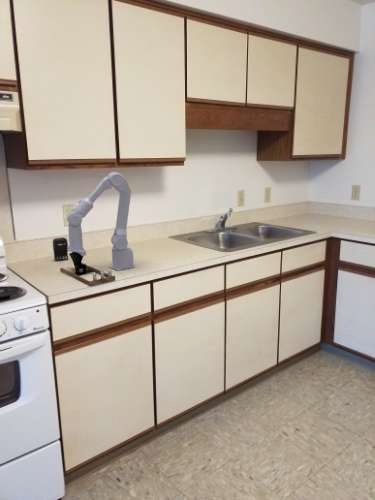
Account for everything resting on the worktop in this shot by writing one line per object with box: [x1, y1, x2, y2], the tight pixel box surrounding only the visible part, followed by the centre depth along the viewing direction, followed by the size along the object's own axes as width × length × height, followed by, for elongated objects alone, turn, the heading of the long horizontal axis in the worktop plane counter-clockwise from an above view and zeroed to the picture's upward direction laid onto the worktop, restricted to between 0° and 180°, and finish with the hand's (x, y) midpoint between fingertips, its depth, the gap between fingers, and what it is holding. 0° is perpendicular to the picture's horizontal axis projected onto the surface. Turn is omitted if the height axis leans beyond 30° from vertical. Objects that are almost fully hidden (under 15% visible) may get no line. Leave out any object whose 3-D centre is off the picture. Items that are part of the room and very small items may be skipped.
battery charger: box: [52, 236, 69, 262], centre depth 197 cm, size 7×4×11 cm, turn 123°
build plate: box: [73, 262, 94, 277], centre depth 177 cm, size 12×7×5 cm, turn 138°
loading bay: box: [59, 264, 116, 287], centre depth 173 cm, size 12×29×5 cm, turn 42°
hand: (77, 268), depth 179 cm, fingers closed
